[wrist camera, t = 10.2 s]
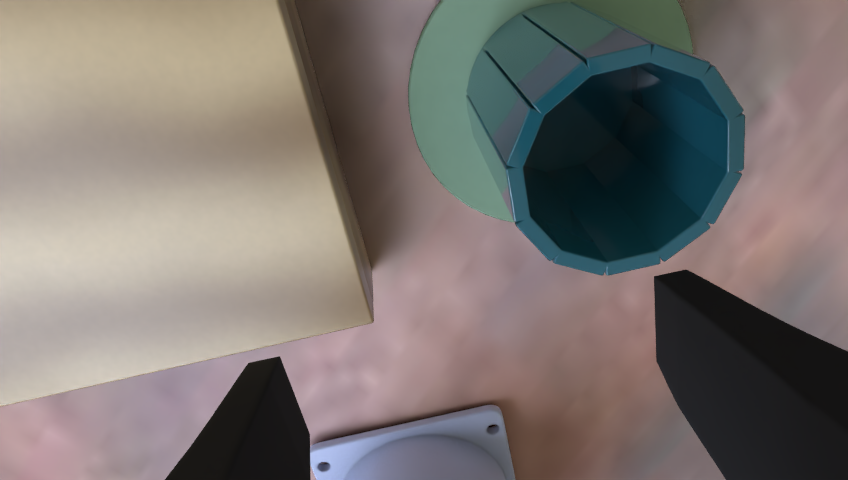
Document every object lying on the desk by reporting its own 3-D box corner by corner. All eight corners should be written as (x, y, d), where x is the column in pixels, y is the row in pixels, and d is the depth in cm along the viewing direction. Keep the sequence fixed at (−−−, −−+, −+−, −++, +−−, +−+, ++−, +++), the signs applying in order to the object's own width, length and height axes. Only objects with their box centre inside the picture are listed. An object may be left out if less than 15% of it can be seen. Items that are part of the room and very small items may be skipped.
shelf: (372, 272, 23) (375, 353, 19) (-35, 364, 24) (-118, 463, 20) (241, -186, 17) (202, -213, 13) (-320, -52, 17) (-537, -36, 13)
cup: (641, 153, 22) (742, 246, 16) (481, 190, 22) (526, 294, 16) (632, -17, 19) (748, 21, 14) (451, 25, 19) (491, 80, 14)
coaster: (690, 187, 23) (695, 191, 23) (438, 244, 23) (439, 250, 23) (685, -97, 19) (692, -97, 18) (377, -24, 19) (378, -23, 19)
